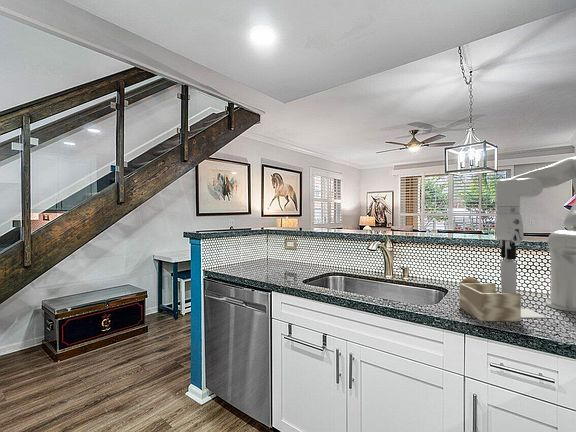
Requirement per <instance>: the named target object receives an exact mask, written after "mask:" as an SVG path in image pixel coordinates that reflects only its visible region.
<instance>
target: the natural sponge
mask: <svg viewBox="0 0 576 432" xmlns="http://www.w3.org/2000/svg"><path fill="white" fill-rule="evenodd" d="M460 283H481V282H480V280H478V279H476V278H475V277H466V278H464V279H463V280H461V282H460Z"/></svg>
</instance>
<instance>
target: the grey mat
mask: <svg viewBox="0 0 576 432" xmlns="http://www.w3.org/2000/svg"><path fill="white" fill-rule="evenodd" d="M521 319H548V316H545V315H543V314H540V313H538V312H536V311H534V310H532V309H530V308H521Z"/></svg>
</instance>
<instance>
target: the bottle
mask: <svg viewBox="0 0 576 432" xmlns="http://www.w3.org/2000/svg"><path fill="white" fill-rule="evenodd" d="M512 243H513V242H511V244H512ZM507 249H508V243H507V241H506V240H505V258H503V259H502V260H501V261H500V283H501V284H500V286H501V287H500V288H501V291H500V293H517V273H518V272H517V269H518V267H517V264H518V263H517V262H516V261H515V259H507Z"/></svg>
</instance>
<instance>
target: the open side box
mask: <svg viewBox="0 0 576 432" xmlns="http://www.w3.org/2000/svg"><path fill="white" fill-rule="evenodd" d="M496 286H497V285H496V283H492V282H491V283H490V282H489V283H486V282H485V283H483V282H482V283H481V282H480V283H461V282H459V308H460V309H462V310H463V311H465V312H466V313H468V314H470V315H471V316H472V317H474V318H476V319H478V320H479V321H481V322H521V321H522V318H521V309H522V302H521V301H522V297H521V296H522V294H521V293H519V292H516V293H501V292H499V293H498V292H496V288H497V287H496Z"/></svg>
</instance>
